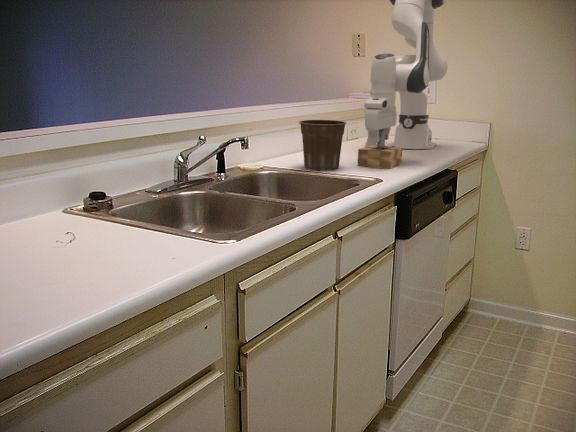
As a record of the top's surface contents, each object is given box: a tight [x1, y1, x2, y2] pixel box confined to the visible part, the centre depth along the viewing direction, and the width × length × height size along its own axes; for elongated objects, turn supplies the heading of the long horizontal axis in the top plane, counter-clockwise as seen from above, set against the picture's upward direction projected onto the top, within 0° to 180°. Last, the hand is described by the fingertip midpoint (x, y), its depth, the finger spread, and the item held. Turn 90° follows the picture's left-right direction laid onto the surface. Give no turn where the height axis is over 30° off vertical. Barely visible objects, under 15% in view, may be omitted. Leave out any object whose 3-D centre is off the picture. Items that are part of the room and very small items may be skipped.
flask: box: [364, 130, 377, 147], centre depth 226 cm, size 7×7×10 cm
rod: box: [376, 128, 386, 150], centre depth 204 cm, size 3×3×14 cm
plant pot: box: [298, 119, 347, 171], centre depth 198 cm, size 16×16×16 cm
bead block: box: [357, 145, 404, 170], centre depth 205 cm, size 12×12×6 cm
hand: (380, 141), depth 204 cm, fingers open, 7 cm apart
